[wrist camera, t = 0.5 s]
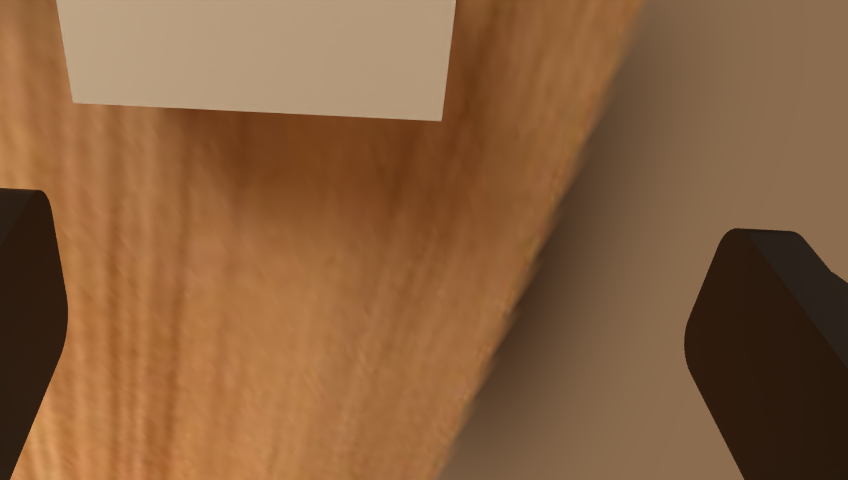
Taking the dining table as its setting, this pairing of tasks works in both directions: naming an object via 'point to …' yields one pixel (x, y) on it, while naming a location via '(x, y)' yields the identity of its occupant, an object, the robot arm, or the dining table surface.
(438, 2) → the white bridge block
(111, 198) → the dining table surface
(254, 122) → the dining table surface
